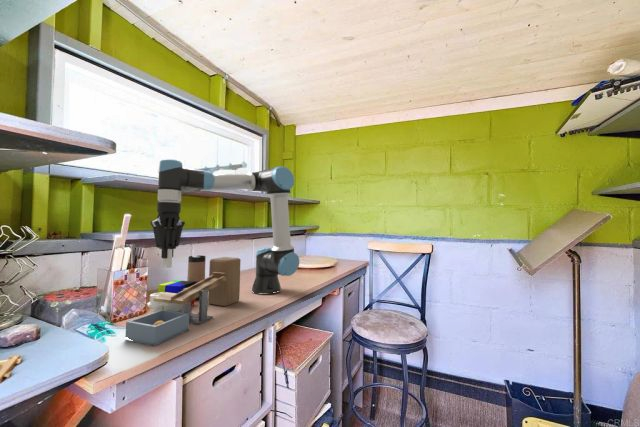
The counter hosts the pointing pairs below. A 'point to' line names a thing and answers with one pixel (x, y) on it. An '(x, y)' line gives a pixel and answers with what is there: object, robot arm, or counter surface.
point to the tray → (157, 327)
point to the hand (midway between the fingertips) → (167, 267)
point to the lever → (192, 290)
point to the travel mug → (196, 269)
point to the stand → (203, 309)
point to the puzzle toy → (174, 288)
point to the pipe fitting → (155, 303)
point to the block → (229, 288)
